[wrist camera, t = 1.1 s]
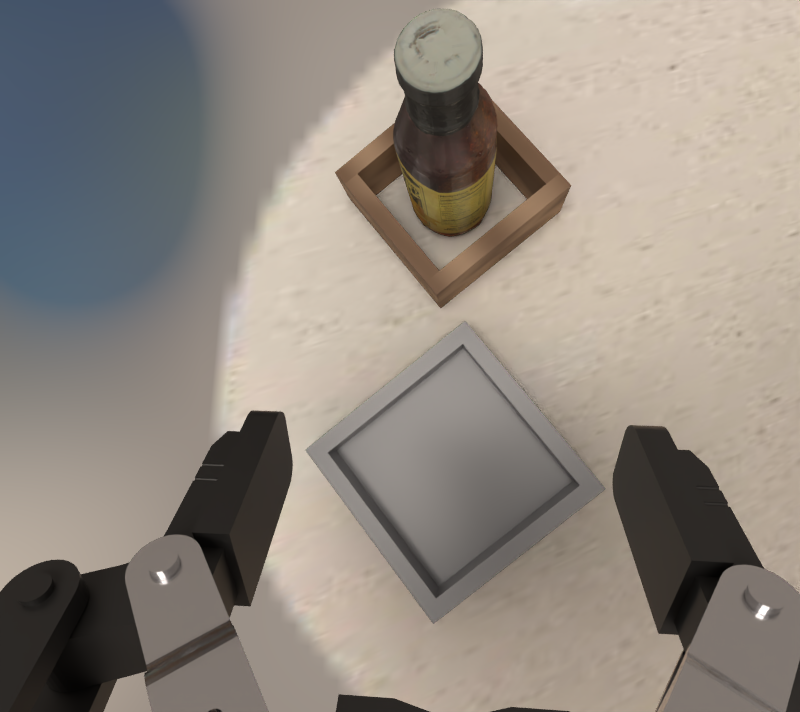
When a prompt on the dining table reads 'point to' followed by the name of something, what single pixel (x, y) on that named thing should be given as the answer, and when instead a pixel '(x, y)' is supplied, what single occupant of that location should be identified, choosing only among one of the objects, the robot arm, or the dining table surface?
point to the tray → (453, 471)
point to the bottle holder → (542, 204)
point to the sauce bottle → (445, 121)
